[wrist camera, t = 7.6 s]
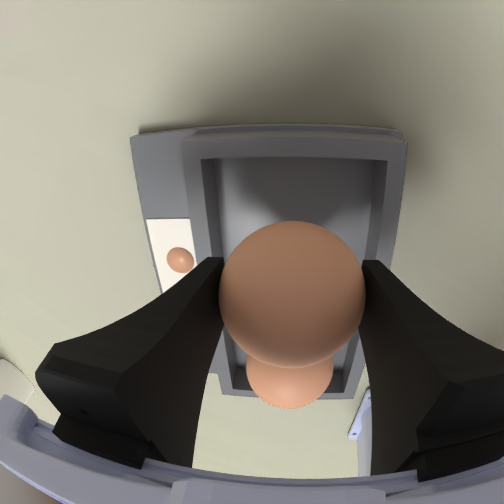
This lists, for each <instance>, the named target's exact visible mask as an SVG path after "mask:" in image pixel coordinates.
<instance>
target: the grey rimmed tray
mask: <svg viewBox="0 0 504 504" xmlns="http://www.w3.org/2000/svg"><path fill="white" fill-rule="evenodd" d="M401 139H402V132H401V131H399V130H397V129H393V128H383V127H371V126H358V125H341V124H315V123H263V124H236V125H219V126H206V127H194V128H183V129H174V130H165V131H157V132H150V133H142V134H137V135H135V136H132V137H130V145H131V152H132V158H133V164H134V170H135V176H136V182H137V188H138V193H139V198H140V204H141V209H142V214H143V219H144V223H145V228H146V233H147V237H148V242H149V246H150V251H151V255H152V259H153V263H154V267H155V271H156V275H157V279H158V283H159V287H160V291H161V294H162V293H164V292H165V291H166V290H168V289H169V288H170V287H172V286H173V285H174V284H176V283H177V282H178V281H179V280H180V279H182V278H183V277H184V276H185V275H186V274H188V273H189V272H190V271H191V270H192V269H194V268H195V267H196V266H197V265H198V264H199V263H200V262H202V261H203V260H204V259H205V258H207V257H224V264H226V262H227V260H228V258H229V256H230V255H231V253H232V252H233V250H234V249H235V248H236V247H237V246H238V245H239V244H240V243H241V242H242V241H243V240H244V239H245V238H246V237H247V236H249V235H250V234H252V233H253V232H255V231H257V230H258V229H260V228H263V227H265V226H267V225H270V224H274V223H278V222H284V221H302V222H308V223H312V224H315V225H318V226H321V227H323V228H325V229H327V230H329V231H331V232H332V233H334V234H335V235H337V236H338V237H339V238H340V239H342V240H343V241H344V242H345V243H346V244H347V246H348V247H349V248H350V249H351V251H352V252H353V253H354V255H355V256H356V258H357V260H358V262H359V264H360V267H362V261H363V260H379V261H380V262H382V263H383V264H384V265H385V266H386V267H387V268H388V269H389V270H390V265H391V260H392V255H393V250H394V245H395V239H396V233H397V227H398V221H399V214H400V207H401V200H402V192H403V184H404V175H405V165H406V154H407V143H406V142H404V141H403V140H401ZM247 357H248V354H247V353H246V352H245V351H244V350H242V349H241V348H240V347H239V346H238V345H237V343H236V342H235V341H234V340H233V338H232V337H231V336H230V334H229V332H228V331H227V329H226V326H225V324H224V327H223V330H222V333H221V336H220V339H219V342H218V345H217V348H216V351H215V354H214V357H213V360H212V363H211V366H210V369H209V372H208V373H217V374H218V377H219V381H220V386H221V390H222V394H224V395H234V396H246V397H259V396H258V395H257V394H256V393H255V392H254V391H253V389H252V388H251V385H250V383H249V381H248V378H247V373H246V362H247ZM333 363H334V367H333V375H332V378H331V381H330V383H329V385H328V387H327V389H326V390H325V391H324V392H323V394H322V395H321V396H320V397H319V398H317V399H353V398H354V395H355V392H356V390H357V387H358V384H359V381H360V378H361V375H362V372H363V369H364V366H365V357H364V353H363V348H362V344H361V339H360V335H359V330H358V328H357V330H356V332H355V334H354V335H353V336H352V338H351V339H350V340H349V342H348V343H347V344H346V345H345V346H344V347H343V348H342V349H341V350H340V351H339V352H337V353H336V354H335V355H333ZM259 398H260V397H259Z"/></svg>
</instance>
